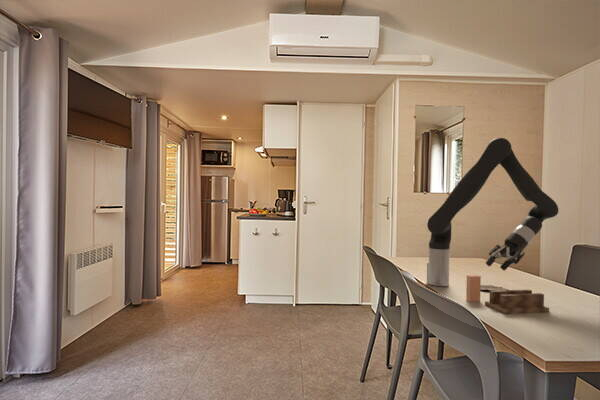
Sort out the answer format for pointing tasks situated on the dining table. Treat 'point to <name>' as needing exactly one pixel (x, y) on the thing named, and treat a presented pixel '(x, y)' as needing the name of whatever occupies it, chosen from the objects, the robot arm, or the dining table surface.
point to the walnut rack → (517, 301)
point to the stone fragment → (491, 287)
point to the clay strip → (473, 288)
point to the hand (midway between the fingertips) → (494, 266)
